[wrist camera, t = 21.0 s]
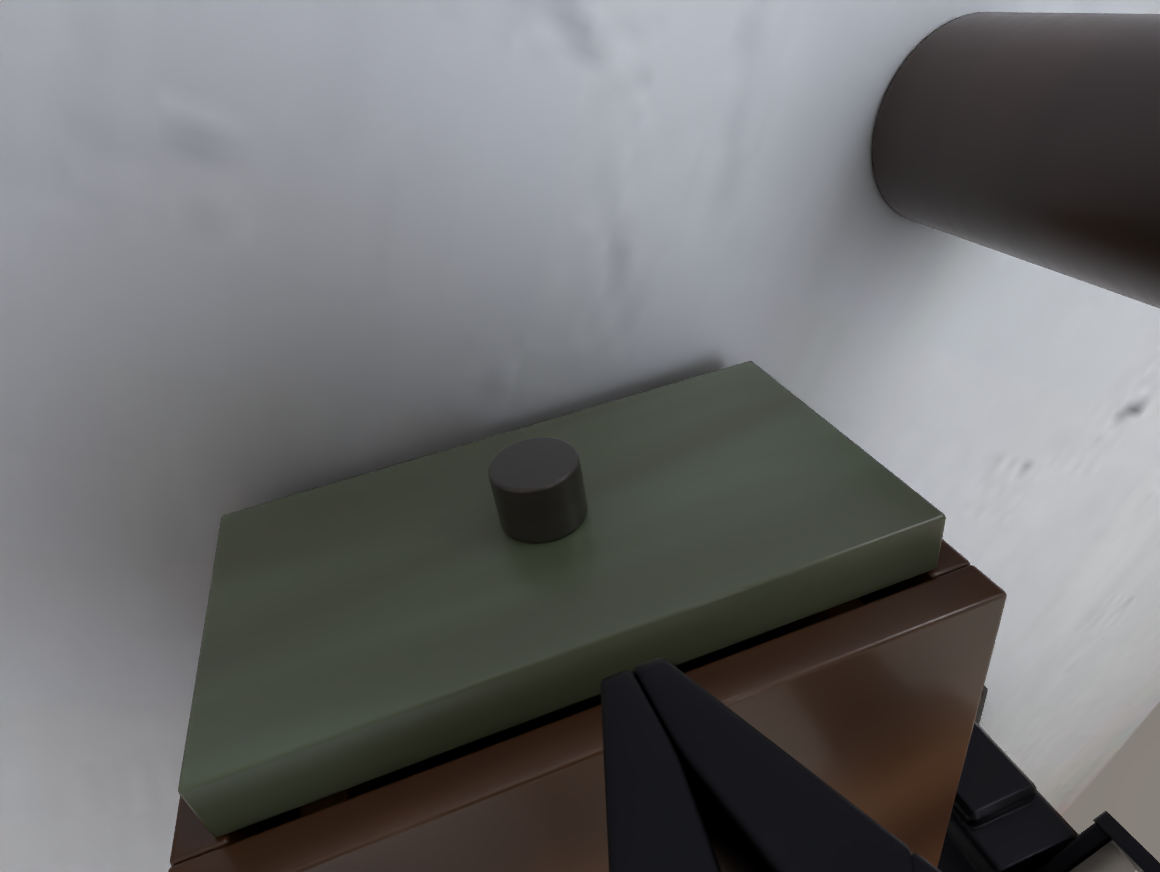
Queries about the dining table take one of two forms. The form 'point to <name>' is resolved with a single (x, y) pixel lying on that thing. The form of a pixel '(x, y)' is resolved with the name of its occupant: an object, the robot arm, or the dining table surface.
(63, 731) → the dining table surface
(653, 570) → the drawer
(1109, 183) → the lidded jar
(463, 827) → the cabinet
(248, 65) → the dining table surface
